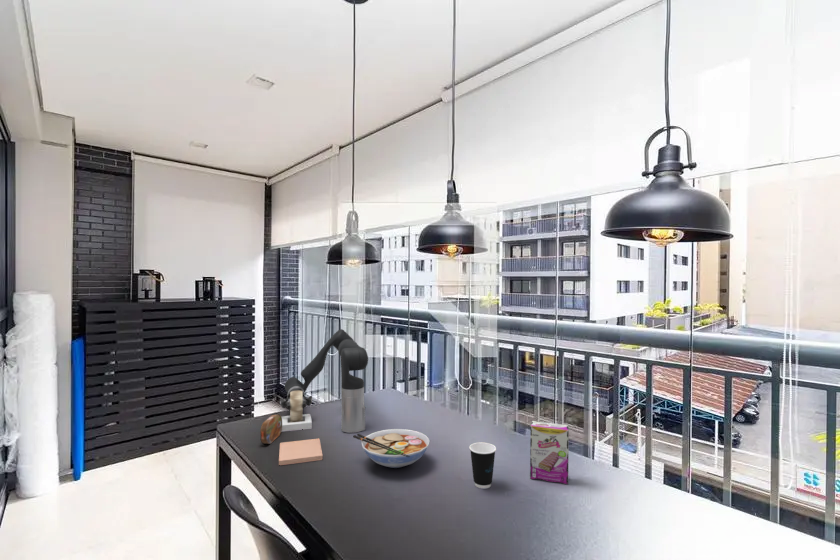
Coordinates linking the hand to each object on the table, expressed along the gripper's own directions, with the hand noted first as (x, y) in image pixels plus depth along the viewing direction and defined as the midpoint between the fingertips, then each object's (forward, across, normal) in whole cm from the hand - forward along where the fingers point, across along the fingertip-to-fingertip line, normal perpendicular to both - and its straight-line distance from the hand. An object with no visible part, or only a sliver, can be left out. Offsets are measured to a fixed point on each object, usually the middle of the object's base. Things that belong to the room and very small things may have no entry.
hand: (296, 406), depth 169 cm
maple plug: (-3, 0, +8) cm, 9 cm away
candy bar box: (+70, +73, +9) cm, 102 cm away
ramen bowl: (+45, +31, +9) cm, 56 cm away
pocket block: (-3, 0, +8) cm, 9 cm away
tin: (+11, -9, +9) cm, 17 cm away
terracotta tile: (+27, +1, +8) cm, 29 cm away
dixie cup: (+67, +52, +9) cm, 86 cm away
